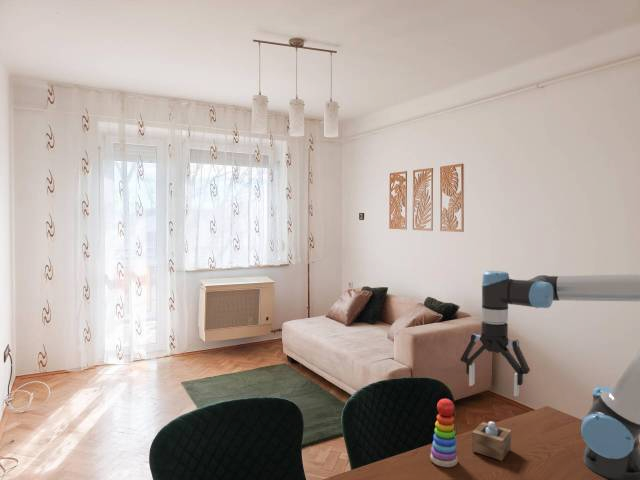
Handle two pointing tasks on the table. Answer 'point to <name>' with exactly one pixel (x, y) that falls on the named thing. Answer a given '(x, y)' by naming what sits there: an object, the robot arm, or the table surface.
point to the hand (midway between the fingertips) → (493, 389)
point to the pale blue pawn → (492, 429)
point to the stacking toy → (444, 436)
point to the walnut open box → (491, 442)
